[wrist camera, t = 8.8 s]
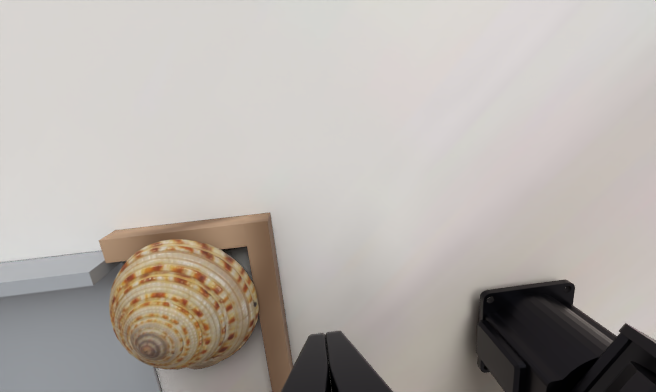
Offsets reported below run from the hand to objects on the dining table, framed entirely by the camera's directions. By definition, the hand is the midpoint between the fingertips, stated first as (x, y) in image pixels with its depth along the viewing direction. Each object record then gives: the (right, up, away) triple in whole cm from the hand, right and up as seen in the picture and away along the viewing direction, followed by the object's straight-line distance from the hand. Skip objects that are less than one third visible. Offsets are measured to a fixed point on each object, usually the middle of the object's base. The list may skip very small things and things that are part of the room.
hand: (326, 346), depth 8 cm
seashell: (-8, -6, +13) cm, 17 cm away
